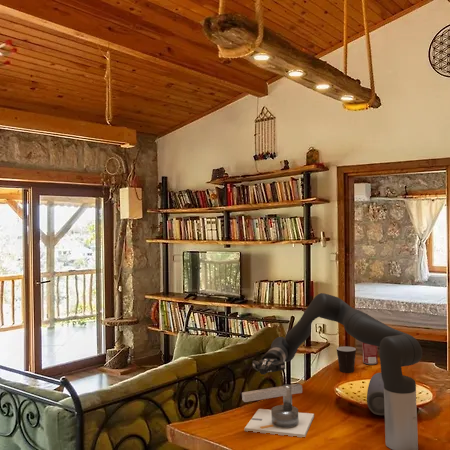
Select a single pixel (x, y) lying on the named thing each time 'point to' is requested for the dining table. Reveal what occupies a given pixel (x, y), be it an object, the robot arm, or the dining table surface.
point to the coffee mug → (346, 359)
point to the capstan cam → (281, 413)
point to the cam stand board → (264, 425)
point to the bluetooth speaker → (376, 395)
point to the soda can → (369, 354)
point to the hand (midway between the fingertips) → (262, 371)
